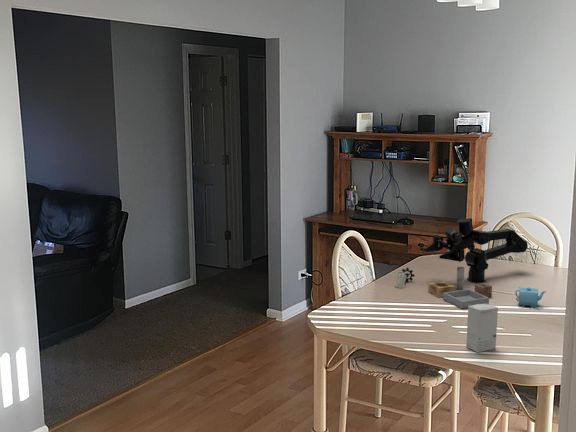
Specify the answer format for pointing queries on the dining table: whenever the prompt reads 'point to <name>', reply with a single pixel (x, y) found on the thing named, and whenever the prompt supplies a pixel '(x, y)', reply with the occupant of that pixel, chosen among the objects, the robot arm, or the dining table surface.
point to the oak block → (440, 288)
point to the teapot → (528, 296)
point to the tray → (465, 298)
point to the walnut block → (484, 289)
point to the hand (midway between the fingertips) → (432, 253)
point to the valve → (403, 277)
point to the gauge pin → (460, 278)
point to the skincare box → (482, 327)
